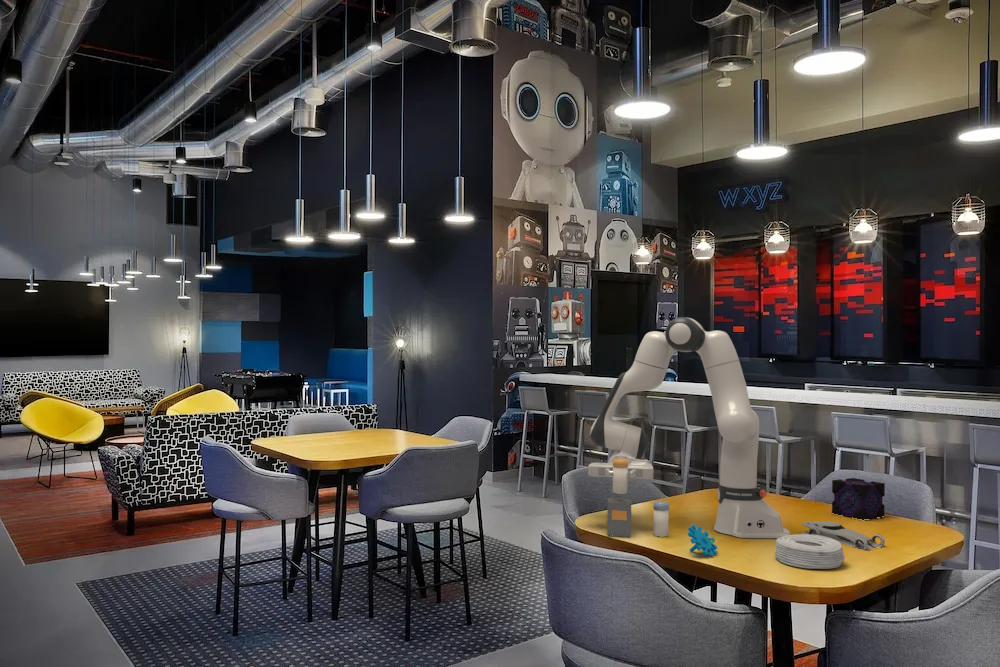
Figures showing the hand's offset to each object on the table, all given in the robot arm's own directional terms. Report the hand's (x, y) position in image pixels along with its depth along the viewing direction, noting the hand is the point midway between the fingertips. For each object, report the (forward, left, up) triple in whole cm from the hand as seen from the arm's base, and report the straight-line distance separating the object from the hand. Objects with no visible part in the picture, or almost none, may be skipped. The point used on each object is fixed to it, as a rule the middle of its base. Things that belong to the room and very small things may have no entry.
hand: (620, 474), depth 237 cm
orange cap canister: (0, -1, -5) cm, 6 cm away
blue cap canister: (-13, -2, -18) cm, 22 cm away
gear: (-23, +17, -18) cm, 34 cm away
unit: (0, -1, -18) cm, 18 cm away
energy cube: (-82, -50, -18) cm, 97 cm away
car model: (-66, -10, -19) cm, 69 cm away
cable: (-51, +19, -18) cm, 57 cm away
